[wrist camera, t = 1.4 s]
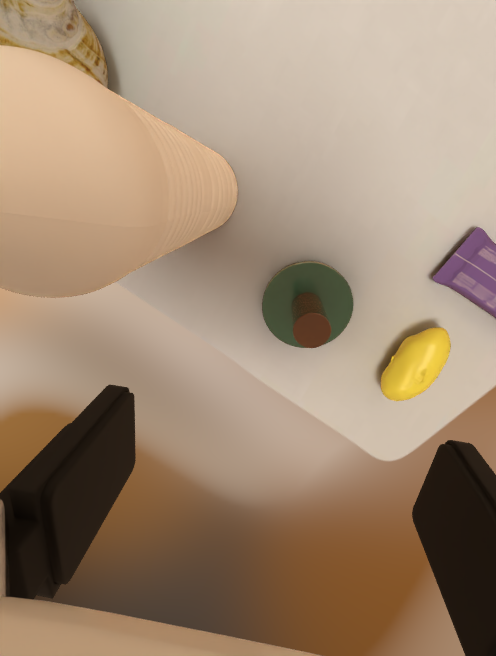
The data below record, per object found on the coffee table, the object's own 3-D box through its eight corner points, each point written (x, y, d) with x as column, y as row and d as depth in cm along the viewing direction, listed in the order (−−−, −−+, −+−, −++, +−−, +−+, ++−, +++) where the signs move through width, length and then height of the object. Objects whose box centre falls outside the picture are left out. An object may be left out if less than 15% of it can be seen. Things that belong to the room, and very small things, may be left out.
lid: (256, 334, 32) (249, 367, 26) (271, 252, 29) (268, 268, 23) (337, 349, 32) (350, 387, 26) (361, 268, 29) (383, 289, 23)
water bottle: (194, 128, 26) (-493, -371, 3) (254, 188, 27) (97, 165, 4) (132, 214, 29) (-449, 295, 6) (189, 265, 30) (-110, 496, 7)
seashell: (-45, 94, 26) (-179, -44, 16) (50, 22, 27) (-21, -145, 18) (55, 193, 28) (-11, 122, 18) (141, 121, 29) (122, 18, 19)
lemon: (363, 376, 33) (372, 399, 29) (419, 311, 30) (438, 327, 26) (397, 396, 33) (411, 421, 29) (456, 334, 30) (479, 353, 26)
